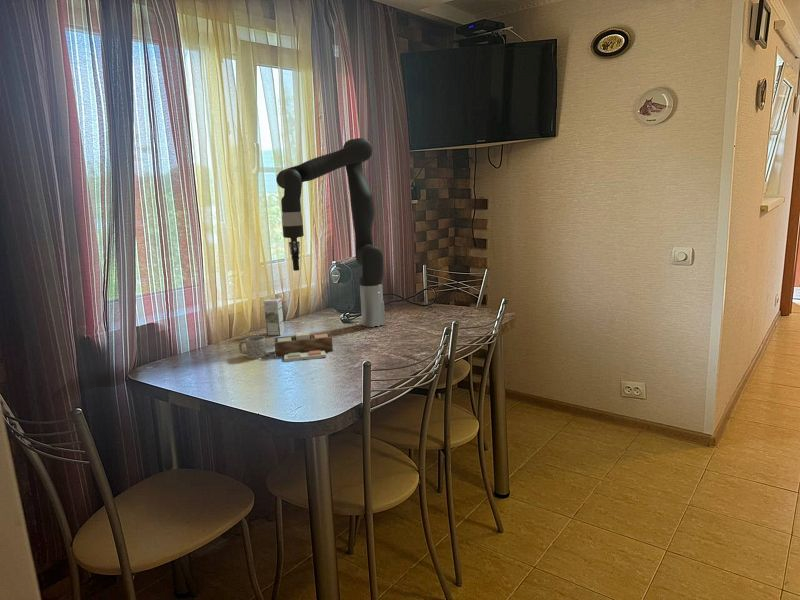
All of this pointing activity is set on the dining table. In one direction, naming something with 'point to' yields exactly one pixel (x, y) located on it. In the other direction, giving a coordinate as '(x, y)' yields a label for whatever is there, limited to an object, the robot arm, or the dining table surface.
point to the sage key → (284, 339)
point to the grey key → (302, 335)
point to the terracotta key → (321, 336)
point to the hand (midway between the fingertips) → (296, 270)
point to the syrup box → (273, 316)
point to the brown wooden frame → (303, 345)
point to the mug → (254, 347)
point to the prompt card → (304, 355)
